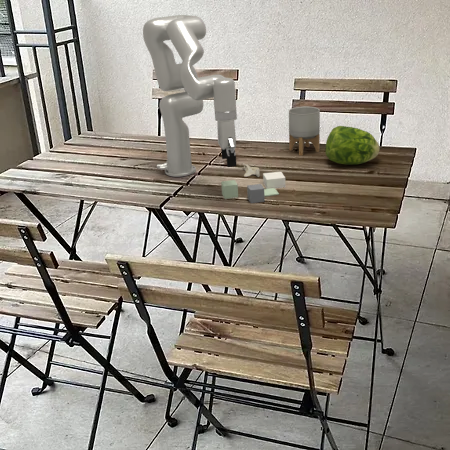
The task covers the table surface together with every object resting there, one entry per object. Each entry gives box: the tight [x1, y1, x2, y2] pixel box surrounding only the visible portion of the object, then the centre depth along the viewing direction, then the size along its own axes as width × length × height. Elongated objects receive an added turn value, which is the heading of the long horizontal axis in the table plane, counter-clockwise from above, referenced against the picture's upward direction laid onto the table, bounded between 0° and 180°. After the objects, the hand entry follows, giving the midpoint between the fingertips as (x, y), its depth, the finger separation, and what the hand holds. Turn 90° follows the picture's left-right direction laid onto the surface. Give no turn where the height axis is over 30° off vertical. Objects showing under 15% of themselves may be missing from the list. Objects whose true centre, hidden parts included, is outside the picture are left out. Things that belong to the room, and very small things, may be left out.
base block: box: [262, 171, 286, 189], centre depth 236 cm, size 7×7×4 cm
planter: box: [288, 106, 321, 156], centre depth 267 cm, size 13×13×18 cm
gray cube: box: [246, 183, 266, 204], centre depth 223 cm, size 5×5×5 cm
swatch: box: [264, 188, 280, 198], centre depth 229 cm, size 6×6×1 cm
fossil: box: [241, 162, 261, 178], centre depth 249 cm, size 7×11×4 cm, turn 3°
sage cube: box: [220, 179, 239, 200], centre depth 228 cm, size 5×5×5 cm
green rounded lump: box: [325, 125, 381, 166], centre depth 251 cm, size 16×21×15 cm
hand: (229, 162), depth 223 cm, fingers open, 9 cm apart
